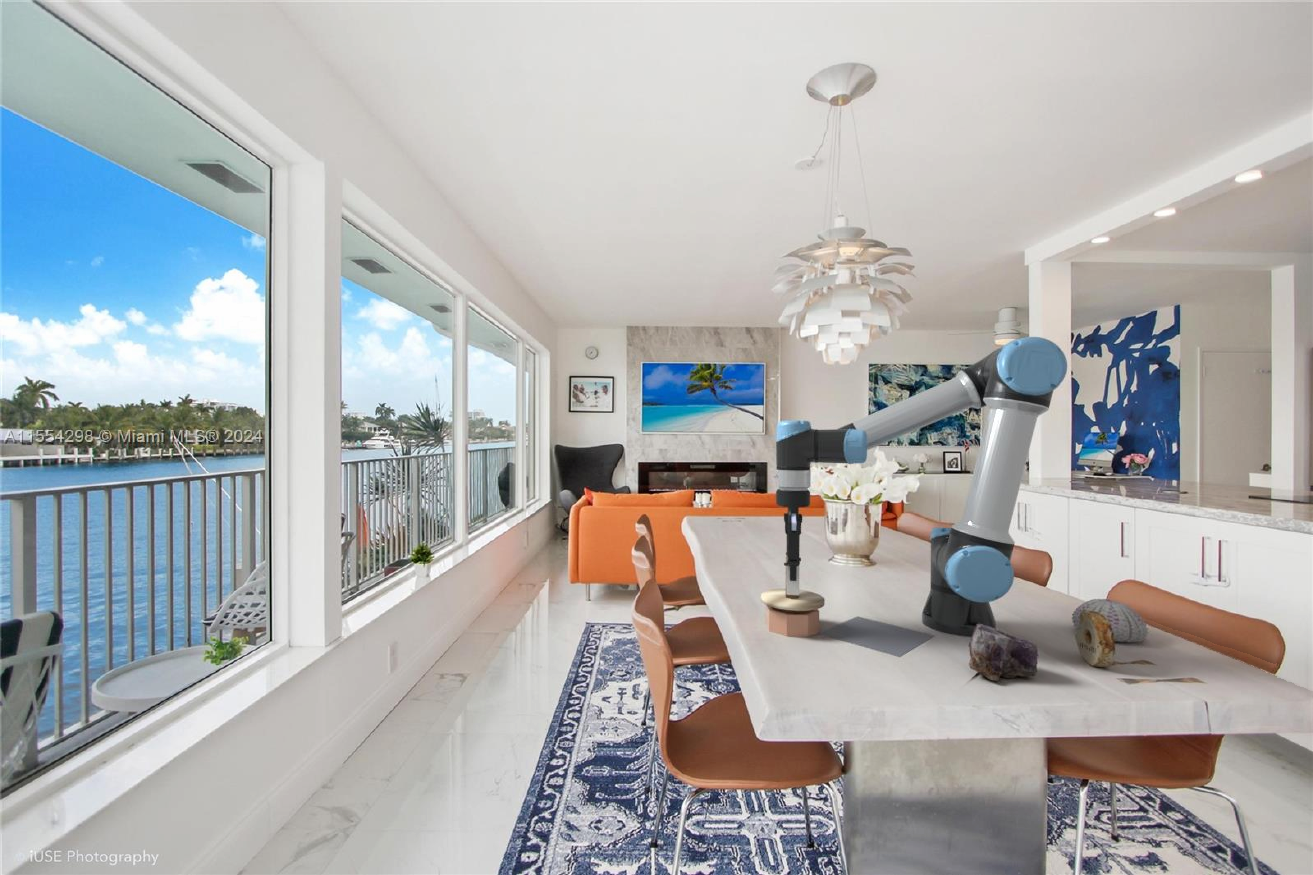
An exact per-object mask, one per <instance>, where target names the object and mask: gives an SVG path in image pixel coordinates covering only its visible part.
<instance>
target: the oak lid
mask: <svg viewBox="0 0 1313 875" xmlns="http://www.w3.org/2000/svg"><path fill="white" fill-rule="evenodd" d="M787 561H788V556H785V563H787ZM760 602H761V603H763V604H764V605H765V606H766V605H768V606H771V607H774V608H778V609H784V610H793V611H808V610H815V609H818V610H819V609H821V608H823V607H824V606H825V597H824V596H822V595H821V594H819V593H816V592H813V591H809V590H805V589H799V595H787V566H785V588H775V589H768V590H765V591H763V592H762V593H761V594H760Z"/></svg>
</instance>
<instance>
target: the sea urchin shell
mask: <svg viewBox="0 0 1313 875" xmlns="http://www.w3.org/2000/svg"><path fill="white" fill-rule="evenodd" d="M1082 611H1095V612H1098V613H1100V614H1102V615H1103V616H1104V617H1105V618H1107V619H1108V621H1109V622H1110V625H1111V627H1112V631H1113V636H1114V642H1121V643H1122V642H1124V643H1139V642H1143V641H1144V640H1146V639H1147V637H1148V635H1149V631H1148V630H1149V628H1148V627H1147V624H1146V623H1145V621H1144V619H1143V618H1142V616H1141V615H1140V614H1139V613H1137V612H1136V610H1134V609H1133V608H1132V607H1130V606H1129V605H1127V604H1125V603H1123V602H1120V601H1118V600H1117V601H1115V600H1113V599H1108V598H1101V599H1100V598H1094V599H1090V600H1087V601H1085V602H1083V603H1082V604H1080V605H1079V606H1078V607H1076V608H1075V610H1074V611H1073V613H1071V615H1072V617H1071V620H1072V623H1073V626H1074V628H1076V631H1077V630H1079V625H1080V624H1079V620H1080V619H1079V615H1080V613H1081V612H1082Z"/></svg>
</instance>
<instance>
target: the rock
mask: <svg viewBox="0 0 1313 875" xmlns="http://www.w3.org/2000/svg"><path fill="white" fill-rule="evenodd" d="M968 648H969V655H970V660H969V662H968V665H969V669H971V670H973V671H975V672H977V673H980V675H982V676H984V677H986V678H987V679H988V680H991V681H993V682H998V681H1000V678H1001V677H1002V678H1008V679H1009V678H1010V679H1011V678H1013V679H1014V678H1016V677H1017V676H1018V677H1023V678H1024V677H1035V676H1036V675H1037V673H1038V668H1037V666H1038V656H1039V653H1038V652H1039V651H1038V646H1037V645H1036V644H1035V643H1033V642H1030V641H1028V640H1025V639H1022V638H1018V637H1016V636H1014V635H1010V634H1008V633H1006V632H1004V631H1001V630H999V629H997V628H996V629H994V628H992V627H989V626H986V625H983V624H977V625H976V627H975V629H974V632H973V635H972V637H970V641H969V643H968Z"/></svg>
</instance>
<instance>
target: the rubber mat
mask: <svg viewBox="0 0 1313 875" xmlns="http://www.w3.org/2000/svg"><path fill="white" fill-rule="evenodd" d="M817 634H818V635H821V636H823V637H828V638H831V639H834V640H838V641H842V642H844V643H845V642H846V643H848V644H852V645H856V646H858V647H863V648H866V649H869V650H872V651H873V650H874V651H876V652H881V653H883V654H888V655H891V656H894V657H897V658H900V657H902V656H904V655H906V654H907V653H909V652H910V651H913V650H914V649H915V648H918V647H919V646H921V645H922V644H924V643H926V642H927V641H929V640H930V639H932V638H933V637H935V636H936V635H935V634H931V633H927V632H924V631H923V632H922V631H920V630H919V631H918V630H914V629H910V628H906V627H902V626H898V625H894V624H891V623H890V624H889V623H885V622H881V621H878V620H874V619H869V618H865V617H862V616H855V617H853V618H851V619H849V620H846V621H843V622H841V623H839V624H836V625H834V626H832V627H831V628H828V629H825V630H823V631H821V632H818V633H817Z"/></svg>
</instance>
